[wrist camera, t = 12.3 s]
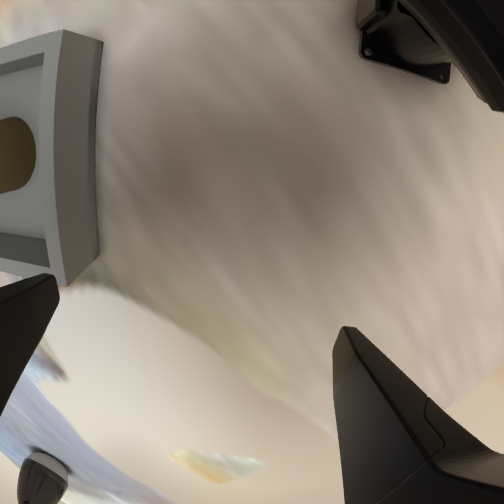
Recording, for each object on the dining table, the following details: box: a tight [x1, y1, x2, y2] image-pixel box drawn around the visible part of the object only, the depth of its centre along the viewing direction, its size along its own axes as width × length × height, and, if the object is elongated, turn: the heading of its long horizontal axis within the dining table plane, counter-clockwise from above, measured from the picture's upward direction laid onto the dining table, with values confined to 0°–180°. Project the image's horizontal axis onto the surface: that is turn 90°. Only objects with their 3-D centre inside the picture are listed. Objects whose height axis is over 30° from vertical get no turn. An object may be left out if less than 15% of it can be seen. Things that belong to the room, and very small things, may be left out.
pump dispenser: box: [17, 452, 68, 504], centre depth 36 cm, size 10×10×15 cm
